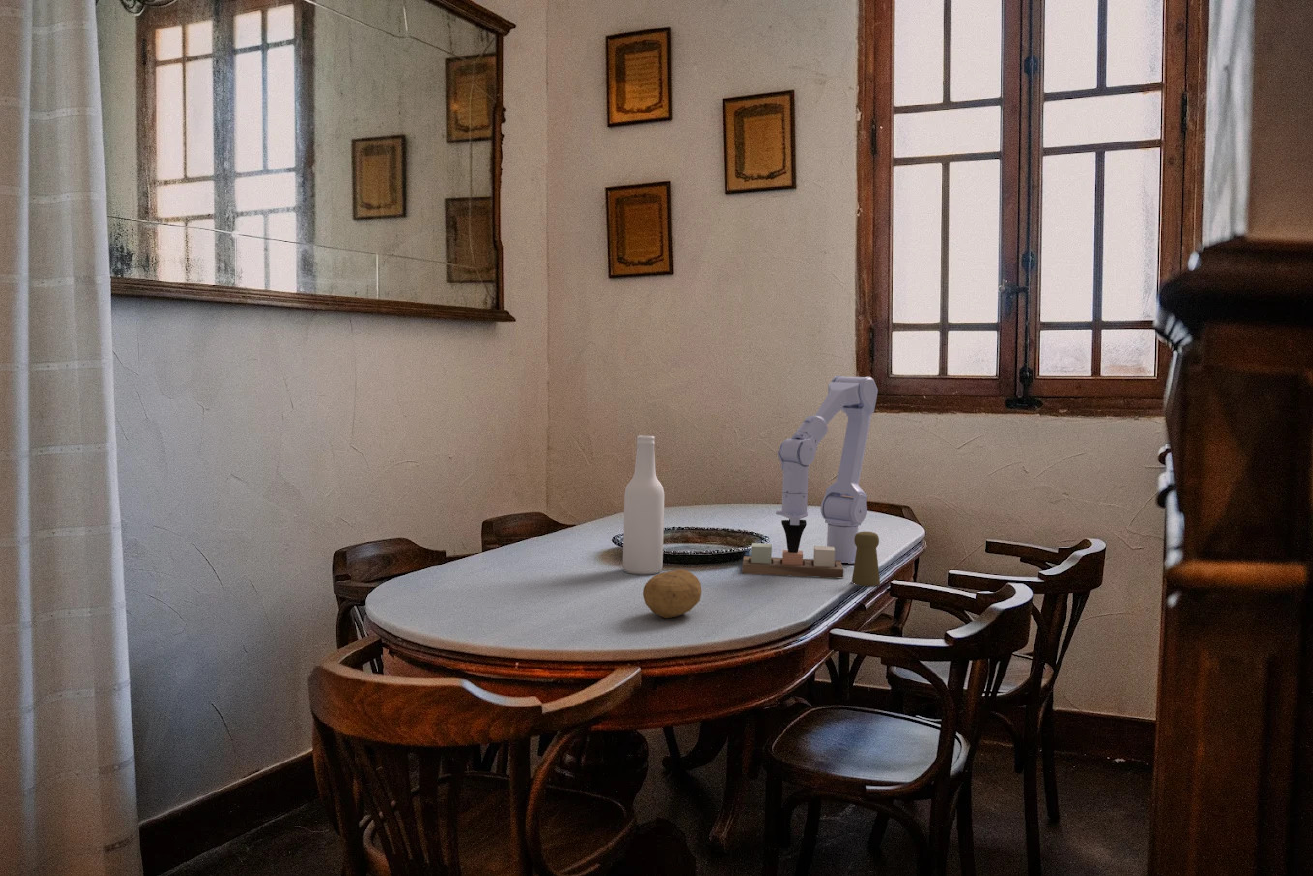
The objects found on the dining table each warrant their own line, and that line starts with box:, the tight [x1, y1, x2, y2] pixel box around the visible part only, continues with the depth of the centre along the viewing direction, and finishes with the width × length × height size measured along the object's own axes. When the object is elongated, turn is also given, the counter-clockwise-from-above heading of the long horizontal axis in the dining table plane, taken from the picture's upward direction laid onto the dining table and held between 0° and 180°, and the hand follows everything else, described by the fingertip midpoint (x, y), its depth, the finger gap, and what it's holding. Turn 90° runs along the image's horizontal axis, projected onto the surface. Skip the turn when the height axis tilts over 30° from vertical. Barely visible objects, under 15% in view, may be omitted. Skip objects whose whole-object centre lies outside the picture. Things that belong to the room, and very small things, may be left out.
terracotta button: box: [781, 549, 804, 565], centre depth 232 cm, size 4×4×4 cm
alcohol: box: [622, 434, 665, 576], centre depth 227 cm, size 9×9×30 cm
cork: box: [851, 531, 881, 587], centre depth 221 cm, size 6×6×11 cm
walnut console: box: [742, 555, 844, 578], centre depth 232 cm, size 10×22×2 cm, turn 84°
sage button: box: [750, 542, 773, 564], centre depth 233 cm, size 4×4×4 cm
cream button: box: [812, 545, 835, 567], centre depth 231 cm, size 4×4×4 cm
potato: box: [642, 568, 702, 619], centre depth 188 cm, size 10×14×8 cm
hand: (792, 552), depth 232 cm, fingers closed, pressing on terracotta button
